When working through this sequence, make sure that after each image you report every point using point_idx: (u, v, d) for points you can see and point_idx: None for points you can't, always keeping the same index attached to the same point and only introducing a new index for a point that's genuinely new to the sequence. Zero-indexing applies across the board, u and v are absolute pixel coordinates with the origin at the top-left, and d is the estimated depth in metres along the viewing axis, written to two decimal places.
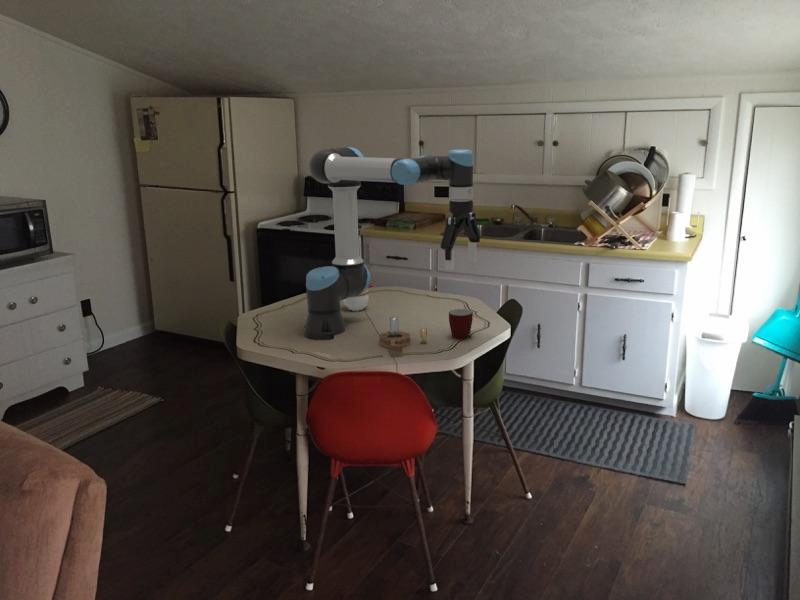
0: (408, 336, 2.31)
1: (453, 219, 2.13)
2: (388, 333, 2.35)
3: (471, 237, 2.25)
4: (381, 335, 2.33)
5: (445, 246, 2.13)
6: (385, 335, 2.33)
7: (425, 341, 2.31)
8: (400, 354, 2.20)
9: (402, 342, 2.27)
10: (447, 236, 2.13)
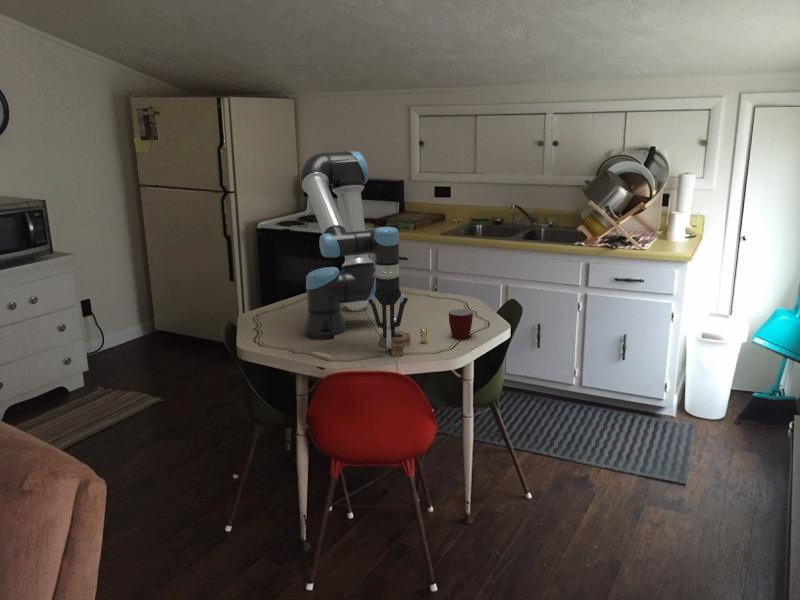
0: (408, 336, 2.31)
1: (369, 301, 2.19)
2: None
3: (390, 320, 2.22)
4: (381, 335, 2.33)
5: (377, 325, 2.21)
6: None
7: (425, 341, 2.31)
8: (401, 354, 2.20)
9: (402, 342, 2.28)
10: None
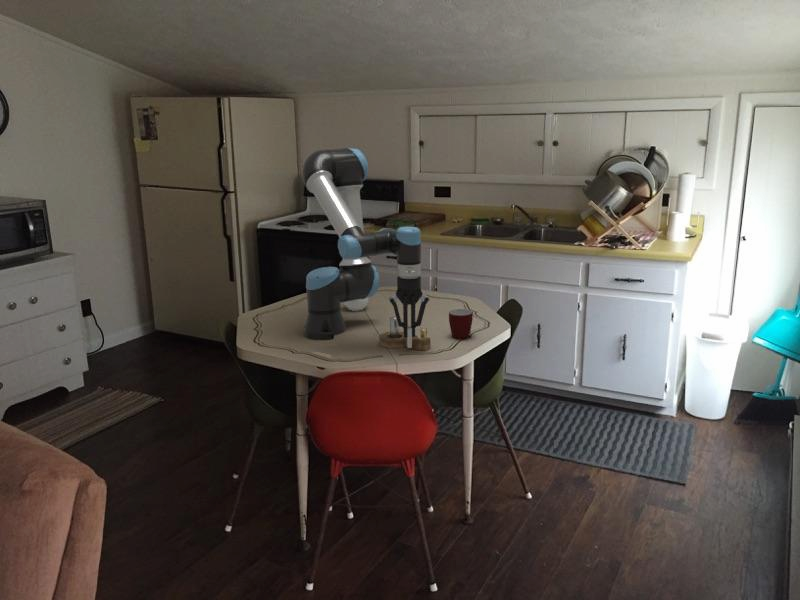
0: None
1: (390, 300, 2.19)
2: (383, 336, 2.32)
3: (411, 319, 2.22)
4: (384, 339, 2.29)
5: (398, 324, 2.22)
6: (387, 338, 2.30)
7: None
8: (429, 346, 2.26)
9: None
10: None
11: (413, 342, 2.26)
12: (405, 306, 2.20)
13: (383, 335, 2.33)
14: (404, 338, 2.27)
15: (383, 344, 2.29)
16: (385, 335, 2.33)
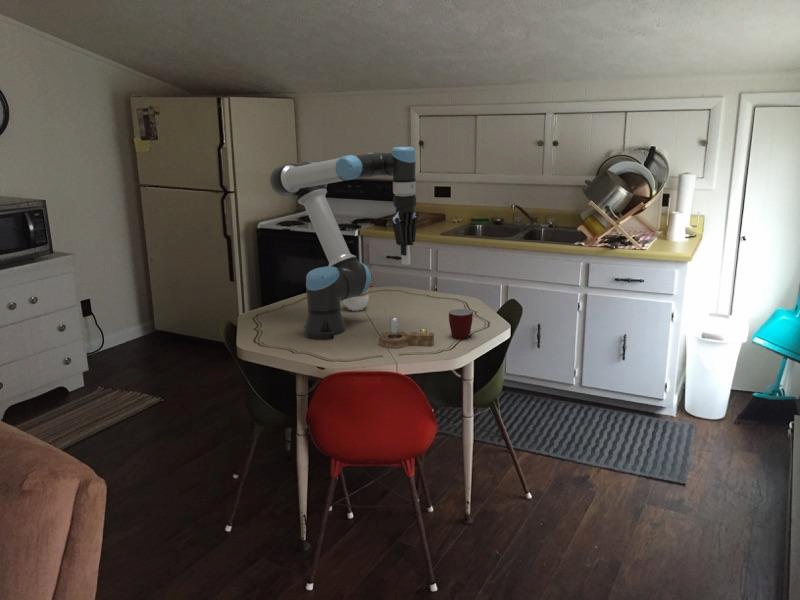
0: None
1: (397, 219, 2.25)
2: (384, 337, 2.30)
3: (407, 237, 2.33)
4: (388, 340, 2.28)
5: (400, 243, 2.29)
6: (390, 338, 2.29)
7: None
8: (433, 341, 2.31)
9: None
10: (398, 234, 2.28)
11: (419, 339, 2.29)
12: (406, 224, 2.29)
13: (383, 336, 2.31)
14: (409, 336, 2.29)
15: (389, 345, 2.28)
16: (385, 336, 2.31)
